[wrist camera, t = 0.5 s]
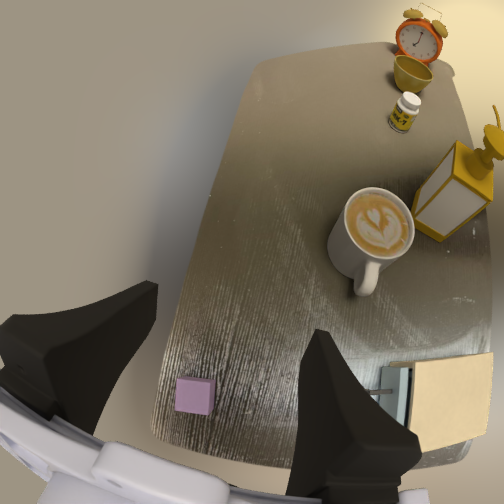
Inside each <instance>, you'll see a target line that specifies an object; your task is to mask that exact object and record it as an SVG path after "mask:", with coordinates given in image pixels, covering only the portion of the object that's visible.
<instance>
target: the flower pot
mask: <svg viewBox="0 0 504 504" xmlns="http://www.w3.org/2000/svg"><path fill="white" fill-rule="evenodd" d="M394 77H395V82H396V85H397V87H398V88H399V89H400V90H401V91H403V92H411V93H413V94H414V93H417V92H419V91H420V90H422V89H423V88H425V87H426V86H427V85H428V84H429V83H430V82H431V81H432V79H433V74H432V72H431V71H430V69H429V68H428V67H427V66H426V65H424V64H423V63H421V62H420V61H418V60H416V59H414V58H412V57H409V56H405V55H398V56H396V57H395V61H394Z"/></svg>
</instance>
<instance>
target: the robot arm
mask: <svg viewBox="0 0 504 504" xmlns="http://www.w3.org/2000/svg"><path fill="white" fill-rule="evenodd" d="M157 294H158V284H156V283H153V282H150V281H147V280H146V281H144V282H141V283H139V284H137V285H135V286H132V287H130V288H128V289H126V290H124V291H122V292H119V293H117V294H115V295H113V296H110V297H108V298H105V299H103V300H100V301H98V302H95V303H92V304H89V305H86V306H83V307H79V308H75V309H71V310H66V311H60V312H55V313H47V314H34V315H18V314H13V315H12V316H11V317H10V318H8V319H7V320H6V321H5V322H4V323H3V324H2V325H0V355H1V358H2V360H3V362H4V365H5V366H4V367H3V368H2V369H0V445H1V446H2V447H4V448H5V449H6V450H7V451H9V453H10V454H12V455H13V456H14V457H15V458H16V459H18V460H19V461H20V462H21V463H22V464H24V465H25V466H26V467H28V468H29V469H30V470H31V471H33V472H34V473H35V474H37V475H38V476H39V477H41V478H42V479H44V480H45V481H46V482H48V484H47V486H46V487H45V489H44V491H43V493H42V494H41V496H40V498H39V500H38V501H37V503H36V504H430V502H429V496H428V490H427V488H419V489H410V490H404V491H401V492H398V488H397V486H399V485H400V484H401V476H402V475H403V474H405V473H406V472H407V471H409V470H410V469H411V468H412V467H414V466H415V465H416V464H417V463H418V462H419V460H420V459H421V457H422V451H421V447H420V442H419V438H418V435H416V434H415V433H413V432H412V431H410V430H409V429H407V428H406V427H404V426H403V425H402V424H400V423H399V422H398V421H396V420H395V419H394V418H393V417H392V416H390V415H389V414H388V413H387V412H386V411H385V410H384V409H383V408H382V407H381V406H380V405H379V404H378V403H377V402H376V401H375V400H374V399H373V398H372V397H371V396H370V395H369V394H368V392H367V391H366V390H365V389H364V388H363V386H362V385H361V384H360V383H359V381H358V380H357V378H356V377H355V375H354V374H353V373H352V371H351V370H350V368H349V366H348V365H347V363H346V362H345V360H344V358H343V357H342V355H341V353H340V351H339V350H338V348H337V346H336V344H335V342H334V340H333V339H332V337H331V335H330V333H329V332H327V331H323V330H319V329H315V331H314V334H313V336H312V338H311V340H310V342H309V345H308V347H307V349H306V351H305V353H304V355H303V357H302V360H301V363H300V370H299V378H298V431H297V438H296V445H295V451H294V457H293V463H292V468H291V473H290V477H289V482H288V486H287V490H286V494H285V495H277V494H270V493H264V492H258V491H252V490H247V489H242V488H237V487H233V486H229V485H228V484H227V482H225V481H224V480H222V479H220V478H219V477H217V476H215V475H212V474H209V473H207V472H204V471H201V470H197V469H194V468H191V467H187V466H184V465H181V464H178V463H175V462H172V461H169V460H166V459H164V458H161V457H158V456H155V455H153V454H150V453H148V452H145V451H143V450H140V449H138V448H135V447H132V446H130V445H127V444H124V443H121V442H118V441H108V442H104V441H102V440H100V439H98V438H96V437H94V436H93V434H94V431H95V428H96V425H97V423H98V420H99V418H100V416H101V413H102V411H103V409H104V406H105V404H106V402H107V400H108V398H109V396H110V394H111V391H112V390H113V388H114V386H115V384H116V382H117V380H118V378H119V376H120V374H121V373H122V371H123V370H124V368H125V367H126V366H127V364H128V363H129V361H130V360H131V358H132V357H133V356H134V354H135V353H136V351H137V350H138V349H139V347H140V346H141V344H142V343H143V341H144V340H145V339H146V337H147V336H148V334H149V332H150V330H151V328H152V326H153V324H154V322H155V320H156V310H157Z"/></svg>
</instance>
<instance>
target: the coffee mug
mask: <svg viewBox="0 0 504 504" xmlns="http://www.w3.org/2000/svg"><path fill="white" fill-rule="evenodd" d="M413 238H414V222H413V218H412V216H411V213H410V211H409V209H408V208H407V206H406V205H405V204H404V203H403V201H402V200H401V199H399V198H398V197H397V196H396V195H394V194H393V193H391V192H389V191H387V190H384V189H380V188H365V189H361V190H359V191H357V192H356V193H354V194H353V195H352V196H351V197H350V198H349V200H348V201H347V203H346V205H345V207H344V209H343V211H342V212H341V214H340V216H339V218H338V220H337V222H336V224H335V226H334V227H333V229H332V231H331V233H330V235H329V238H328V243H327V249H328V255H329V258H330V260H331V262H332V264H333V265H334V267H335V268H336V269H337V270H338V271H339V272H340V273H341V274H343V275H345V276H346V277H349V278H351V279H354V292H355V294H356V295H358V296H361V297H366V296H368V295H370V294H371V293H372V292H373V290H374V289H375V287H376V284H377V280H378V274H379V273H380V272H381V271H382V270H384V269H385V268H386V267H388V266H389V265H390V264H392V263H393V262H394V261H395V260H397V259H398V258H399V257H401V256H402V255H403V254H404V253H405V252H406V251H407V250H408V249H409V247H410V246H411V244H412V242H413Z"/></svg>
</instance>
